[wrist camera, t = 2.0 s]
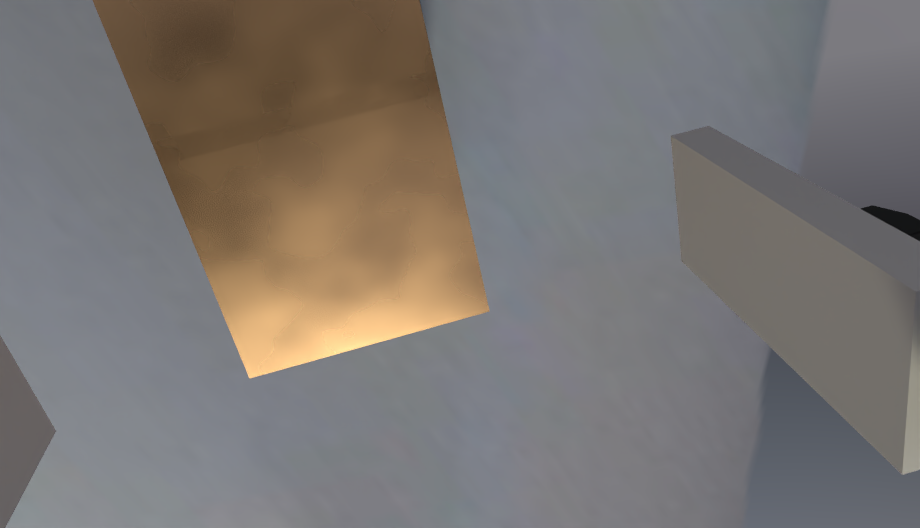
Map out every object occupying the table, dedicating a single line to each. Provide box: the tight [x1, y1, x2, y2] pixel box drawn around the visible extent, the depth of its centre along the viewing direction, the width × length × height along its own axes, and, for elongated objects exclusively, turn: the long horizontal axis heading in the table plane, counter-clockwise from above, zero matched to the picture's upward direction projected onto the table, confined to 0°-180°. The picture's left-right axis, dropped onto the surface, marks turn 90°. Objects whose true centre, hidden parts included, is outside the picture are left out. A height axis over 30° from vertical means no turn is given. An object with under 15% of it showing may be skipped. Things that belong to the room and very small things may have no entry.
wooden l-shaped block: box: [93, 0, 489, 378], centre depth 21 cm, size 6×12×12 cm, turn 12°
